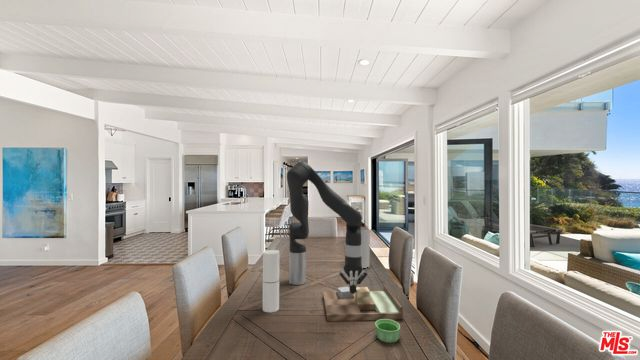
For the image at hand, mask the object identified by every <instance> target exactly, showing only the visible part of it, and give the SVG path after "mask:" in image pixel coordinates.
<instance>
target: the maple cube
mask: <svg viewBox="0 0 640 360" xmlns="http://www.w3.org/2000/svg"><path fill="white" fill-rule="evenodd" d="M370 291H371V290H370V289H369V288H368V286H356V292H355V300H356V302H357V304H370Z"/></svg>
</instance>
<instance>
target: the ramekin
mask: <svg viewBox="0 0 640 360" xmlns="http://www.w3.org/2000/svg"><path fill="white" fill-rule="evenodd" d="M374 327H375V335H376V337H377V339H378V340H380V341H381V342H383V343H395V342H397V341H398V340H399V338H400V330H401V325H400V323H398V322H397V321H396V320H390V319H380V320H375V322H374Z"/></svg>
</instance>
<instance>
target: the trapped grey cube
mask: <svg viewBox="0 0 640 360" xmlns="http://www.w3.org/2000/svg"><path fill="white" fill-rule="evenodd" d="M336 291H337V299H353V294H351V292H350V290H349V286H341V287H337V290H336Z"/></svg>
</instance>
